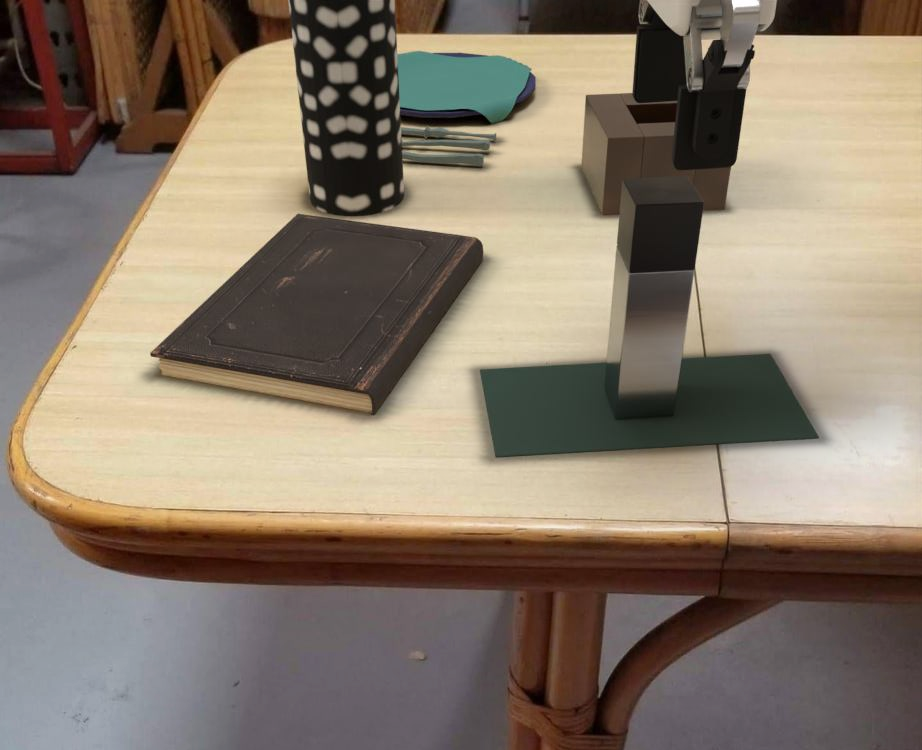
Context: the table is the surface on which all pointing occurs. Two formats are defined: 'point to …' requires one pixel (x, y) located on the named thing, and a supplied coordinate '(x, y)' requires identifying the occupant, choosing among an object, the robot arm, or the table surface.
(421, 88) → the cutlery set
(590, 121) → the holder
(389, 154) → the spotted tube
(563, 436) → the mat
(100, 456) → the table surface
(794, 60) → the table surface
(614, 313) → the brushed metal bar
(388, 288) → the hardcover book
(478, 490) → the table surface
